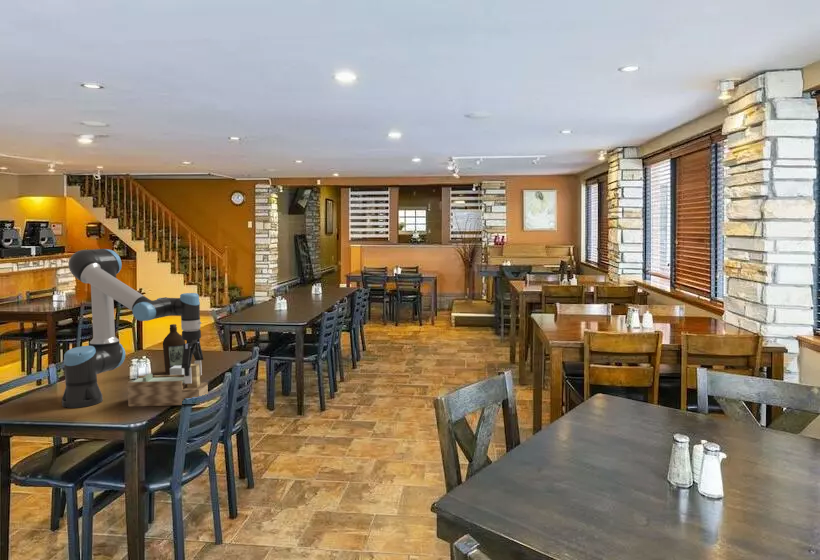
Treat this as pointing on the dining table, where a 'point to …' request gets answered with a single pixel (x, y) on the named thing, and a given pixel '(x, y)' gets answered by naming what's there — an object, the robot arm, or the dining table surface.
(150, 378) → the lid
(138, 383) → the toolbox
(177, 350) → the olive oil
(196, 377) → the beige wooden block
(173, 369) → the product box
